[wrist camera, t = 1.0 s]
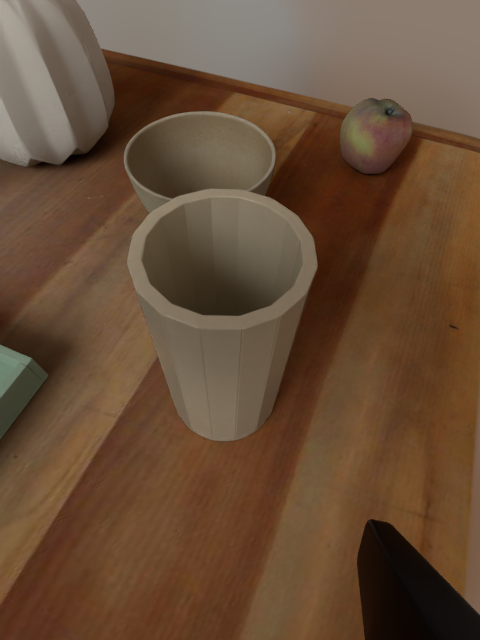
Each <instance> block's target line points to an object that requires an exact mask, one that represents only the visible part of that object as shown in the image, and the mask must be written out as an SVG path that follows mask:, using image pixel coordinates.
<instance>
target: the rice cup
mask: <svg viewBox="0 0 480 640" xmlns="http://www.w3.org/2000/svg"><path fill="white" fill-rule="evenodd" d="M127 265H128V268H129V271H130V274H131V278H132V281H133V284H134V287H135V290H136V293H137V296H138V298H139V301H140V304H141V307H142V310H143V313H144V316H145V319H146V322H147V325H148V328H149V331H150V334H151V337H152V340H153V343H154V346H155V349H156V352H157V355H158V358H159V360H160V363H161V366H162V369H163V372H164V375H165V378H166V381H167V384H168V387H169V390H170V393H171V396H172V399H173V402H174V405H175V408H176V411H177V413H178V415H179V416H180V418H181V420H182V421H183V422H184V423H185V424H186V425H187V426H188V427H189V428H190V429H191V430H192V431H194V432H195V433H196V434H198V435H200V436H202V437H205V438H208V439H211V440H216V441H233V440H238V439H241V438H244V437H246V436H248V435H250V434H252V433H254V432H255V431H257V430H258V429H259V428H260V427H261V426H262V425H263V424H264V423H265V422H266V421H267V419H268V418H269V416H270V415H271V413H272V410H273V408H274V405H275V402H276V399H277V397H278V394H279V390H280V387H281V384H282V381H283V377H284V374H285V371H286V368H287V365H288V361H289V358H290V355H291V352H292V348H293V345H294V342H295V339H296V335H297V332H298V329H299V326H300V323H301V319H302V316H303V313H304V310H305V306H306V303H307V300H308V297H309V293H310V290H311V287H312V284H313V280H314V277H315V274H316V271H317V266H318V263H317V256H316V250H315V243H314V239H313V236H312V235H311V234H310V232H309V231H308V229H307V228H306V227H305V225H304V224H303V222H302V221H301V219H300V218H299V217H298V216H297V215H296V214H295V213H294V212H292V211H291V210H289V209H287V208H286V207H284V206H283V205H281V204H280V203H278V202H277V201H275V200H274V199H272V198H270V197H266V196H263V195H259V194H256V193H253V192H249V191H246V190H241V189H205V190H201V191H197V192H193V193H188V194H184V195H180V196H178V197H175V198H174V199H172V200H170V201H168V202H167V203H165V204H163V205H162V206H160V207H158V208H156V209H155V210H153V211H152V212H151V213H150V214H149V215H148V216H147V217H146V218H145V220H144V221H143V222H142V223H141V225H140V226H139V227H138V228H137V230H136V231H135V232H134V234H133V236H132V240H131V245H130V249H129V254H128V258H127Z"/></svg>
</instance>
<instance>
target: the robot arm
mask: <svg viewBox="0 0 480 640" xmlns="http://www.w3.org/2000/svg"><path fill="white" fill-rule="evenodd" d="M357 567H358V577H359V587H360V596H361V606H362V616H363V625H364V635H365V640H480V615H479V614H478V613H477V612H476V611H475V610H474V609H473V608H472V607H471V605H469V604H468V602H467V601H466V600H465V599H464V598H463V597H462V596H461V595H460V594H459V593H458V592H457V591H456V590H455V589H454V588H453V587H452V586H451V585H450V584H449V583H448V582H447V581H446V580H445V579H444V578H443V577H442V576H441V575H440V574H439V573H438V572H437V571H436V570H435V569H434V568H433V567H432V566H431V565H430V563H429V562H428V561H427V560H426V559H425V558H424V557H423V556H422V555H421V554H420V553H419V552H418V551H417V550H416V549H415V548H414V547H413V546H412V545H411V544H410V543H409V542H408V541H407V540H406V539H405V538H404V537H403V536H402V535H401V534H400V533H399V532H398V531H397V530H396V529H395V528H394V527H393V526H392V525H391V524H390V523H388V522H383V521H378V520H374V519H370V520H368V521H367V523H366V525H365V529H364V532H363V536H362V540H361V544H360V548H359V551H358V558H357Z"/></svg>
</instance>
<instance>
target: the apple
mask: <svg viewBox="0 0 480 640" xmlns="http://www.w3.org/2000/svg"><path fill="white" fill-rule="evenodd" d="M411 135H412V119H411V116H410V114H409V113H408V112H407V111H406V110H404V109H403V108H402V107H401V106H400V105H399V104H397V103H396V102H395V101H393V100H391V99H382V100H377V99H373V98H370V99H366V100H363V101H362V102H360V103H358V104H357V105H356V106H355V107H353V108H352V109H351V111H350V112H349V113H348V114H347V116H346V117H345V119H344V121H343V123H342V126H341V130H340V147H341V153H342V157H343V159H344V160H345V162H346V163H347V164H349V165H350V166H351V167H352V168H354V169H356V170H358V171H360V172H361V173H363V174H380V173H382V172H384V171H385V170H387V169H388V168H389V167H390V165H391V164H392V163H393V162H394V161H395V160H396V159H397V157H398V156H399V155H400V153H401V152H402V150H403V149H404V148H405V146H406V145H407V143H408V141H409V140H410V137H411Z"/></svg>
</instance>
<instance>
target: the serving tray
mask: <svg viewBox="0 0 480 640" xmlns="http://www.w3.org/2000/svg"><path fill="white" fill-rule="evenodd" d="M48 376H49V375H48V374H47V373H46V372H45V371H44V370H43V369H42V368H41V367H40V366H39V365H38V364H37V363H36V362H35V361H34V360H33V359H32V358H30V357H28V356H26V355H23V354H21V353H19V352H16V351H14V350H12V349H9V348H7V347H5V346H2V345H0V439H1V438H2V437H3V435H4V434H5V433H6V431H7V430H8V429H9V428H10V426H11V425H12V424H13V422H14V421H15V420H16V418H17V417H18V416H19V414H20V413H21V412H22V410H23V409H24V408H25V406H26V405H27V404H28V402H29V401H30V400H31V398H32V397H33V396H34V395H35V393H36V392H37V391H38V389H39V388H40V387H41V385H42V384H43V383H44V381H45V380H46V379H47V377H48Z"/></svg>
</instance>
